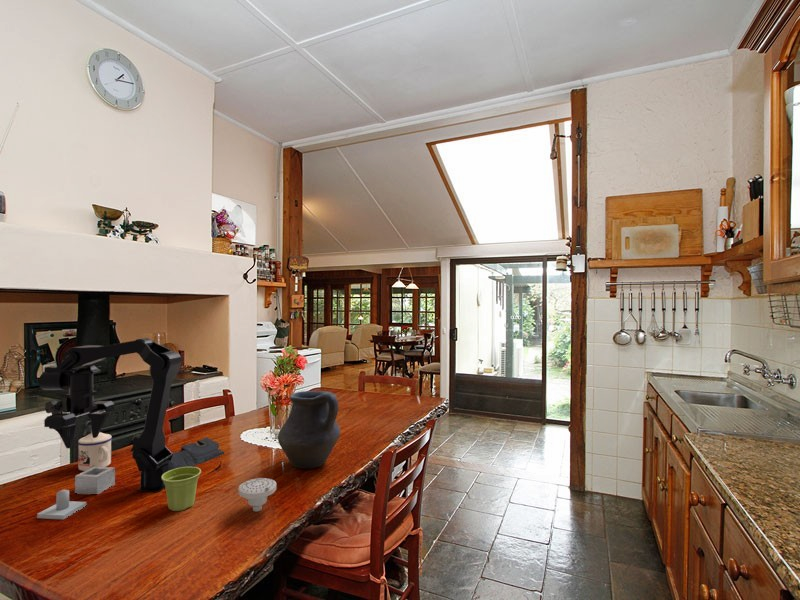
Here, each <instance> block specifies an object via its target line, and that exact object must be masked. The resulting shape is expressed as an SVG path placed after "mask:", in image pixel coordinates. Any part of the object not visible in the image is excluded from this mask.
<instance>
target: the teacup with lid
mask: <svg viewBox="0 0 800 600" xmlns="http://www.w3.org/2000/svg"><path fill="white" fill-rule="evenodd" d="M112 439H113V437H112V435H111V434H109V433H104V432H101V431H100V432H99V434H98V436H97V438H93V436H92V432H90V433H89V434H87V435H86V436H84V437H81V438H80V439H78V442H77V445H78V457H77V458H78V459H77V460H78V461H77V462H78V467H77V468H78V470H79V471H82V472H84V471H86V470H88V469H90V468H92V467H108V466H110V464H111V463H112Z"/></svg>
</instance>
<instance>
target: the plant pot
mask: <svg viewBox="0 0 800 600" xmlns="http://www.w3.org/2000/svg"><path fill="white" fill-rule="evenodd" d="M201 473H202V470H201V468H199V467H197V466H194V467H181V468H176V469H173V470H170V471H168V472H166V473H164V474H163V475H162V477H161V478H162V480H163V482H164V485H165V488H164V489H165V492H166V500H167V506H168V507H167V508H168V510H171V511H173V512H179V511H185V510H186V509H188V508H191V507H192V506H194V505H195V501H196V492H197V485H198V480H199V478H200V475H201Z"/></svg>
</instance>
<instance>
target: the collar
mask: <svg viewBox="0 0 800 600" xmlns="http://www.w3.org/2000/svg"><path fill="white" fill-rule="evenodd" d="M115 481H116V467H112V466H111V467H108V466H106V467H92V468H90V469H88V470H86V471H82V472H80V473H78V474H76V475H75V476H74V494H75V493H77V494H76V495H90V494H98V495H99V494H101V493H103V492H104V490H105V491H106V490H108V489H109V487H110V488H112V487H114V486H115V485H116V482H115ZM111 486H112V487H111Z"/></svg>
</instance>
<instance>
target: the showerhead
mask: <svg viewBox="0 0 800 600" xmlns="http://www.w3.org/2000/svg"><path fill="white" fill-rule="evenodd" d="M276 491H277V482H276V481H275V480H274V479H272V478H265V477H258V478H253V479H249V480H245V481H244V482H243V483H241V484H240V485H239V486H238V495H239V496H240V497H241V498H244V499H247V504H248V505H249V506H251V507H252V511H253V512H260V511H262V509H263V505H264V504H266V503H267V502H268V496H271V495H272V494H274V493H275V492H276Z"/></svg>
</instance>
